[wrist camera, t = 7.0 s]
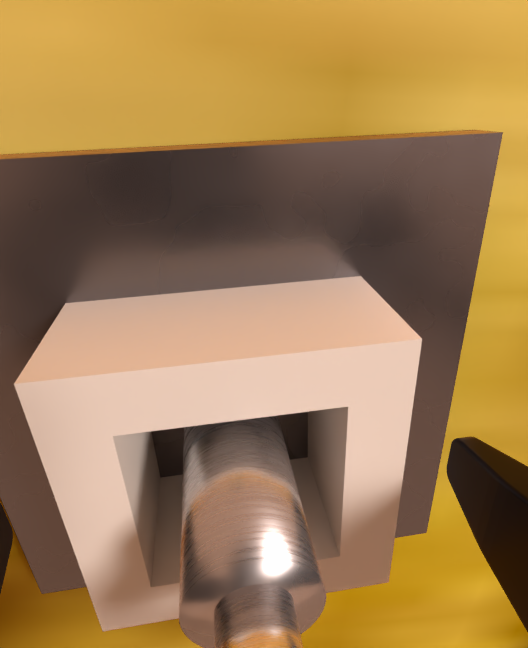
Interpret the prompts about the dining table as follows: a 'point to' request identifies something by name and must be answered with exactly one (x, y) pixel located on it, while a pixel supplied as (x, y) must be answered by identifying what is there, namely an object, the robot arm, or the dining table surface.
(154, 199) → the grey base with post
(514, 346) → the dining table surface
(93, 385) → the collar
